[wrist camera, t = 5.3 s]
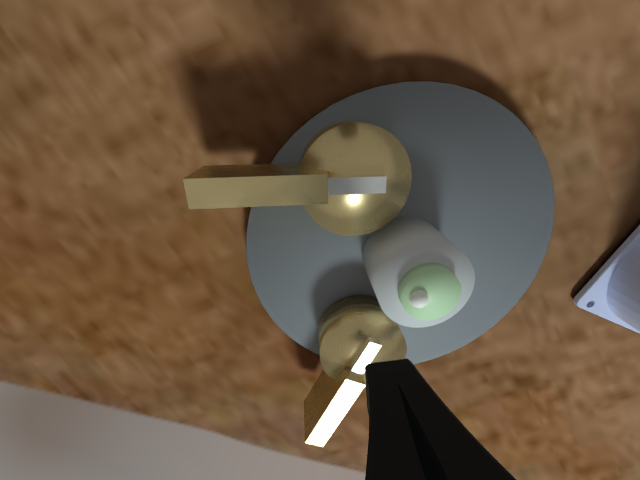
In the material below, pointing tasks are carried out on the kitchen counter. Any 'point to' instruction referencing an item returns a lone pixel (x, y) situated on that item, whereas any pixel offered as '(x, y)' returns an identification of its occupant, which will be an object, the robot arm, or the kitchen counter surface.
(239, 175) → the front knob
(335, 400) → the back knob
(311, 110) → the kitchen counter surface
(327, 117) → the plate
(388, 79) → the kitchen counter surface
